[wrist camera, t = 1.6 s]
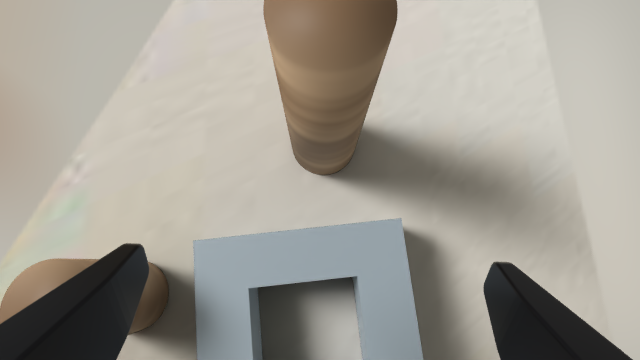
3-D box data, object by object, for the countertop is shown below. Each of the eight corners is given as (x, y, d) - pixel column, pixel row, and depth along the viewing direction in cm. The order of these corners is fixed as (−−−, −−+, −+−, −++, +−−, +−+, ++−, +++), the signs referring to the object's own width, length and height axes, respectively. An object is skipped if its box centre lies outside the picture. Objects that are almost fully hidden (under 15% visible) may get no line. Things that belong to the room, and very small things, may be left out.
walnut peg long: (358, 171, 23) (407, 61, 11) (295, 177, 23) (269, 75, 11) (350, 112, 24) (387, -54, 12) (289, 118, 24) (258, -43, 11)
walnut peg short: (169, 327, 21) (99, 357, 14) (98, 335, 21) (-6, 369, 14) (167, 256, 22) (101, 253, 15) (100, 264, 22) (3, 264, 15)
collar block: (420, 424, 20) (437, 452, 17) (218, 450, 20) (201, 482, 17) (390, 224, 23) (401, 218, 20) (209, 243, 22) (193, 240, 19)
